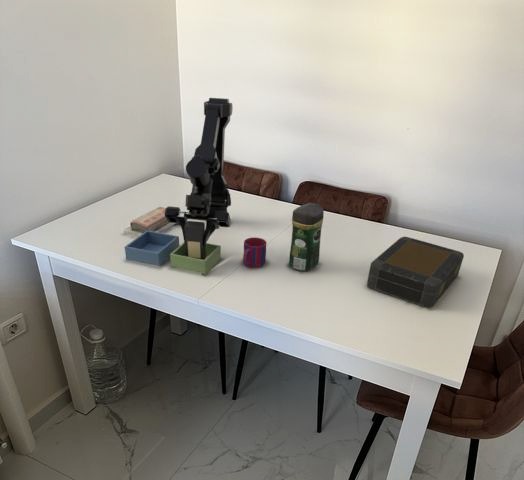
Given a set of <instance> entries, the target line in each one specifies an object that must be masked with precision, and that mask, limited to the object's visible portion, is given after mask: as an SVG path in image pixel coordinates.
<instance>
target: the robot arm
mask: <svg viewBox="0 0 524 480" xmlns="http://www.w3.org/2000/svg"><path fill="white" fill-rule="evenodd" d="M233 109H234V108H233V102H230V99H229V98H224V97H223V98H222V97H221V98H220V97H219V98H218V97H209V98H208V100H205V101H204V102H203V115H204V121H203V127H202V133H201V140H200V144H199V145H198V146H197V147H196V148H195V150H194V154H193V156H192V157H191V159H190V160H189V161H188V162H187V164H186V165H185V171H186V174H187V178H188V179H189V181H190V183H191V184H192V186H191V192H190V194H185V204H184V205H185V207H186V210H187V211H182V210H181V208H180V207H179V206H167V207H165V208H166V209H165V214H164V215H165V217H166V218H167V220H168V222H171V223H176V224H178V226H180V228H181V231H182V237H183V243H185V227H184V226H185V225H186V223H187V221H188V220H191V221H203V222H205V233H204V237H203V246H205V244H206V243H208V240H209V239H210V237H211V236H212V234H213V233H214V232H215V231H216V230H219V229H220V228H230V227H231V222H232V221H231V220H232V219H231V215H230V212H229V211H228V208H229V207H231V206H232V197H231V194H230V191H229V189H228V182H227V181H226V179H225V177H224V163H225V162H224V161H225V160H224V159H225V139H226V128H227V127H228V125H229V124H230V122H231V116H232V115H233Z"/></svg>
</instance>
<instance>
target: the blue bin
mask: <svg viewBox="0 0 524 480" xmlns="http://www.w3.org/2000/svg"><path fill="white" fill-rule="evenodd" d="M179 246H180V236H178V235H174V234H169V233H163V232H160V233H158V232H153V231H148V230H147V231H145V232H144V233H143V234H141V235H140V236H139V237H137V236H136V238H135V239H133V240H132V241H130V242H129V243H128V244H126V245H125V246H124V254H125V259H126V260H127V261H132V262H137V263H143V264H148V265H152V266H156V267H161V265H163V264H164V263H165V262H166V261H167V260H168V259H169V258H170V254H171V253H172V252H173V251H174V250H176V249H177V248H178V247H179Z"/></svg>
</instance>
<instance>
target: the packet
mask: <svg viewBox="0 0 524 480" xmlns="http://www.w3.org/2000/svg"><path fill="white" fill-rule="evenodd" d="M184 227H185V244H186V257H191V258H196V259H201V260H205V259H206V248H205V246H203V237H204V233H205V228H206V221H196V220H187V223H186V225H185V226H184Z"/></svg>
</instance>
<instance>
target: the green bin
mask: <svg viewBox="0 0 524 480" xmlns="http://www.w3.org/2000/svg"><path fill="white" fill-rule="evenodd" d="M221 247H222V246H221V245H219V244H213V243H209V242H206V244H205V248H206V259H205V260H201V259H196V258H191V257H186V244H185V243H184V242H183V243H181V244H179V247H178V248H177V249H176V250H174V251H173V252H172V253H171V254H170V257H169V258H170V268H175V269H180V270H184V271H185V270H186V271H189V272H194V273H200V274H201V276H207V275H208V274H209V273H210V272H211V271H212V270H213V268H214V267H215V265H216V264H217V263H218V262H219V260H221V258H222V255H221V253H222V252H221V251H222V248H221Z"/></svg>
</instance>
